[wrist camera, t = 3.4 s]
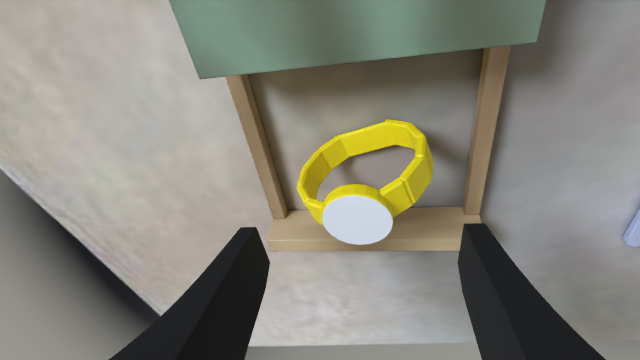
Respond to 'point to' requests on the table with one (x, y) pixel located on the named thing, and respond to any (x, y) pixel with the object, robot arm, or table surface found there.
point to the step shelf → (348, 47)
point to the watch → (361, 200)
